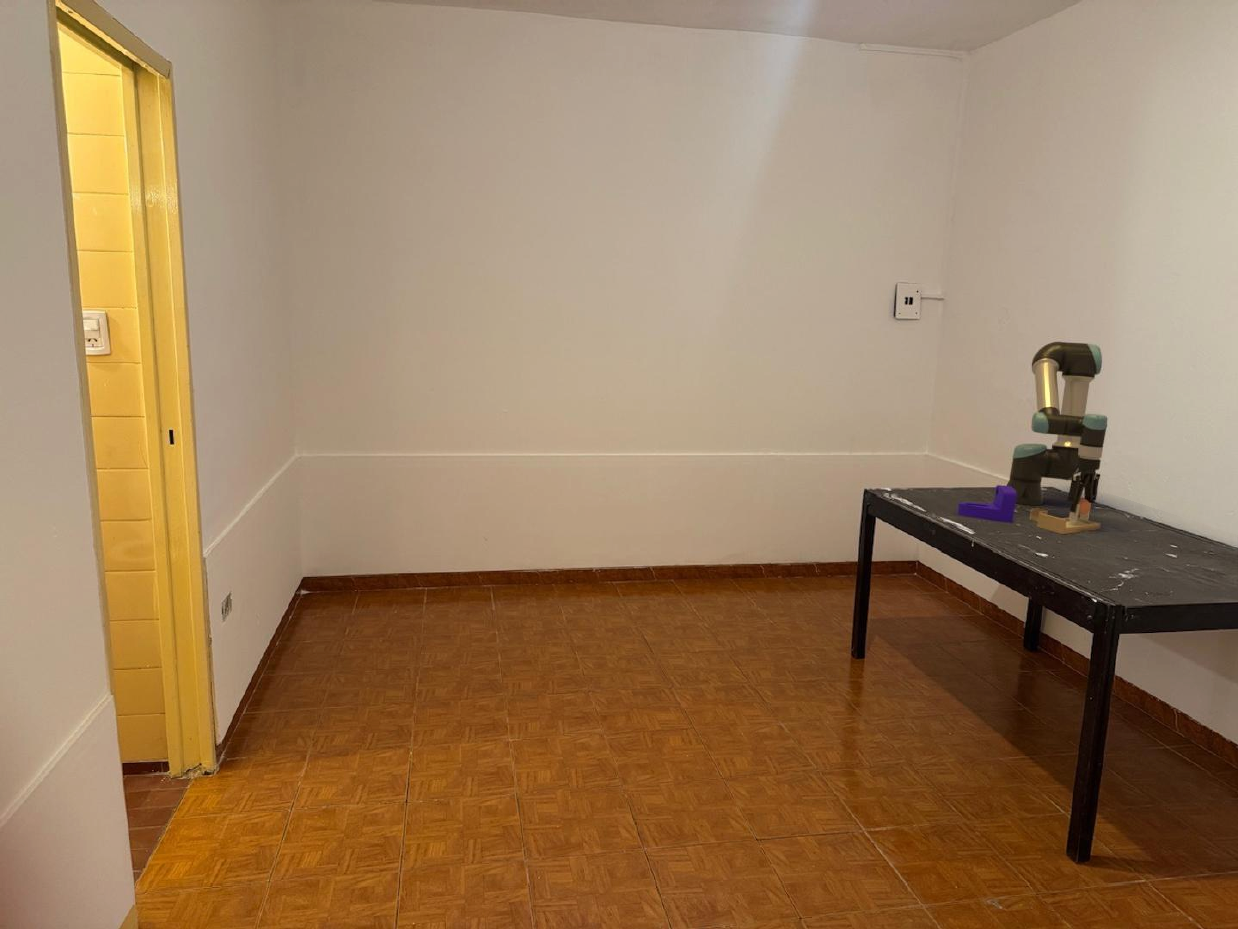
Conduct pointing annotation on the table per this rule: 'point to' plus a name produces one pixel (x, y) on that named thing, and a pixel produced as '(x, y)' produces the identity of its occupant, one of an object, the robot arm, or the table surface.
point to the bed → (1065, 524)
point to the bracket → (992, 506)
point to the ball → (1083, 506)
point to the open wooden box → (1036, 513)
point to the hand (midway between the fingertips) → (1078, 520)
